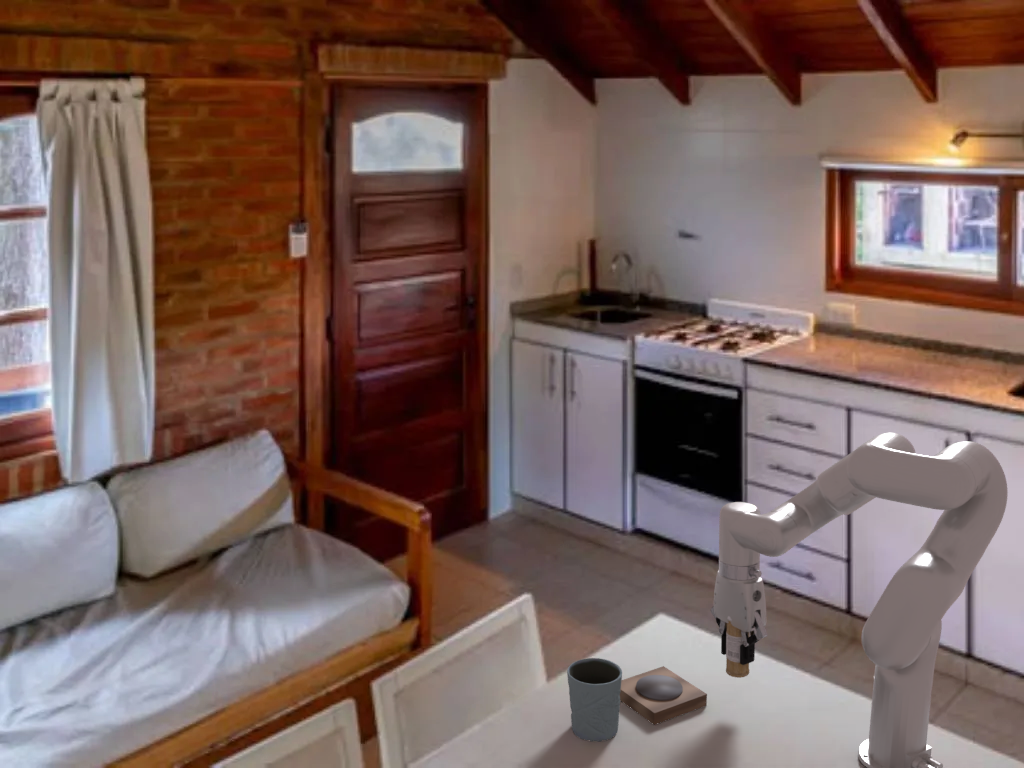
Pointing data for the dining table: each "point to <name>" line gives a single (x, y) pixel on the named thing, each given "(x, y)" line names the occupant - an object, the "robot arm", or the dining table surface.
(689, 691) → the walnut base
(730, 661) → the sprinkles bottle
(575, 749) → the dining table surface
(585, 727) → the blue-grey cup
